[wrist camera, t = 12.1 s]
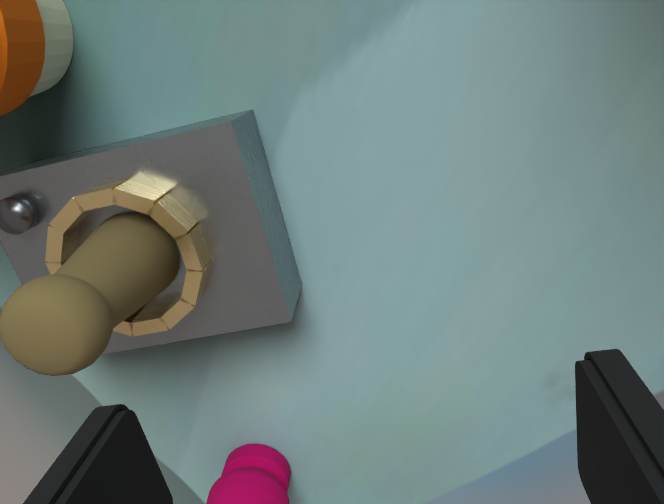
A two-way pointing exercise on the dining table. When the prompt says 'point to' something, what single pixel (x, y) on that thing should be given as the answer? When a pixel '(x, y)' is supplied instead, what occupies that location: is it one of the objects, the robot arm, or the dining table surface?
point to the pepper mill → (252, 477)
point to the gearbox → (166, 225)
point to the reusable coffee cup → (32, 48)
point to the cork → (88, 295)
